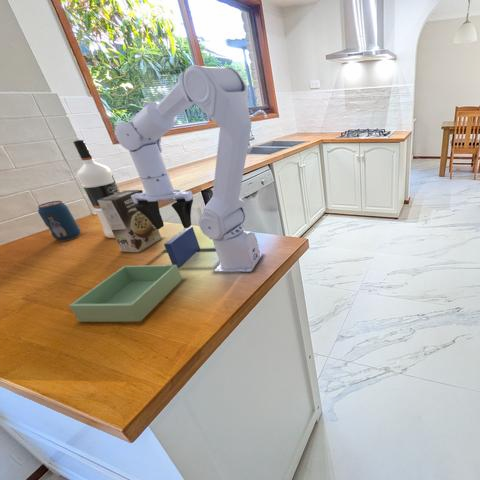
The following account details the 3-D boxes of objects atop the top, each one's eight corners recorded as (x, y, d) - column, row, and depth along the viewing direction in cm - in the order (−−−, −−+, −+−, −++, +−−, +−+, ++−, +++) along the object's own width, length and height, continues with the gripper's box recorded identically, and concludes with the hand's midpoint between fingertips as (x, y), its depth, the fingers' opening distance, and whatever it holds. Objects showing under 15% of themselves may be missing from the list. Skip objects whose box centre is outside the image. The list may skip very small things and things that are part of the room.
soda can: (79, 231, 102) (60, 198, 96) (85, 235, 98) (66, 201, 92) (53, 239, 97) (32, 205, 91) (58, 244, 93) (37, 209, 87)
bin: (183, 280, 69) (176, 264, 67) (141, 323, 57) (131, 305, 55) (132, 281, 70) (124, 265, 68) (80, 323, 58) (68, 305, 56)
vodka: (108, 232, 99) (61, 141, 85) (139, 224, 103) (100, 136, 89) (104, 242, 92) (53, 144, 78) (138, 233, 96) (95, 139, 82)
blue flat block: (200, 248, 83) (192, 226, 79) (179, 268, 74) (169, 243, 70) (195, 248, 83) (187, 226, 79) (173, 268, 74) (163, 244, 71)
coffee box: (139, 252, 84) (114, 200, 76) (121, 252, 85) (95, 200, 77) (163, 238, 91) (142, 189, 84) (146, 237, 93) (124, 189, 85)
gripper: (112, 181, 66) (137, 234, 72) (172, 178, 64) (192, 233, 71) (135, 173, 72) (155, 223, 78) (190, 170, 71) (206, 221, 77)
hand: (174, 227), depth 75 cm, fingers open, 7 cm apart
